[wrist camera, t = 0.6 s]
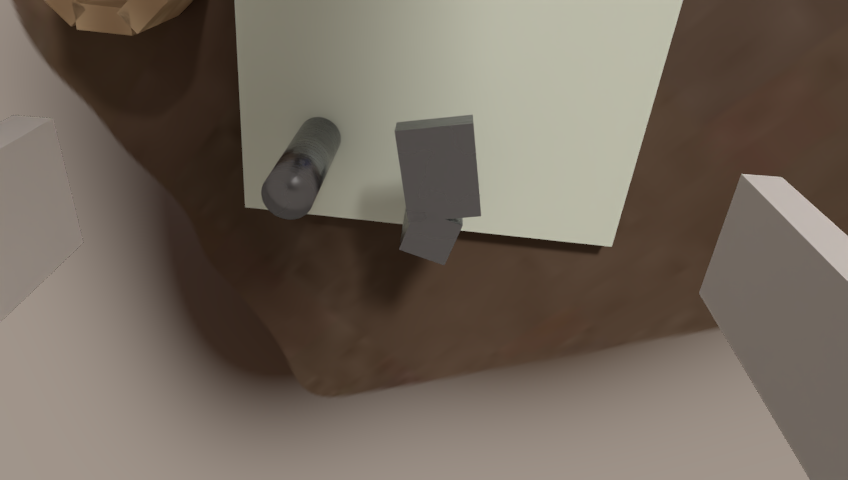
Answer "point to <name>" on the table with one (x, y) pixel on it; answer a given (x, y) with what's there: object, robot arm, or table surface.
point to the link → (117, 14)
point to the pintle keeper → (420, 171)
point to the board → (460, 100)
